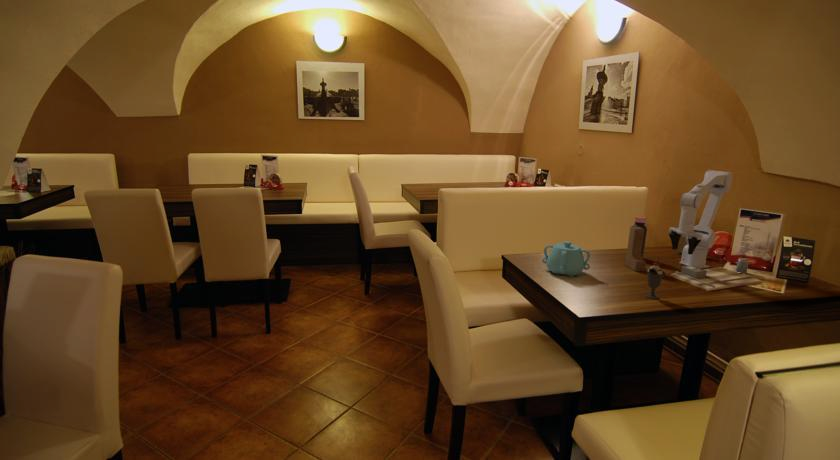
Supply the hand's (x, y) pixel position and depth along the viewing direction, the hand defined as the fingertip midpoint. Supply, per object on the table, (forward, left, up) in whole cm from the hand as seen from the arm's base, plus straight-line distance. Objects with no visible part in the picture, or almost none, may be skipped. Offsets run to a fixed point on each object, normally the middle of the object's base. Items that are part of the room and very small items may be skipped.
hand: (682, 251), depth 209 cm
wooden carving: (-19, +27, -10) cm, 35 cm away
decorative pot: (-16, -49, -10) cm, 52 cm away
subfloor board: (+11, +7, -10) cm, 17 cm away
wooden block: (-11, -15, -10) cm, 21 cm away
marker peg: (+8, +27, -10) cm, 30 cm away
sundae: (+18, -35, -10) cm, 40 cm away
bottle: (-23, -3, -10) cm, 25 cm away
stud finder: (+7, -1, -8) cm, 11 cm away
